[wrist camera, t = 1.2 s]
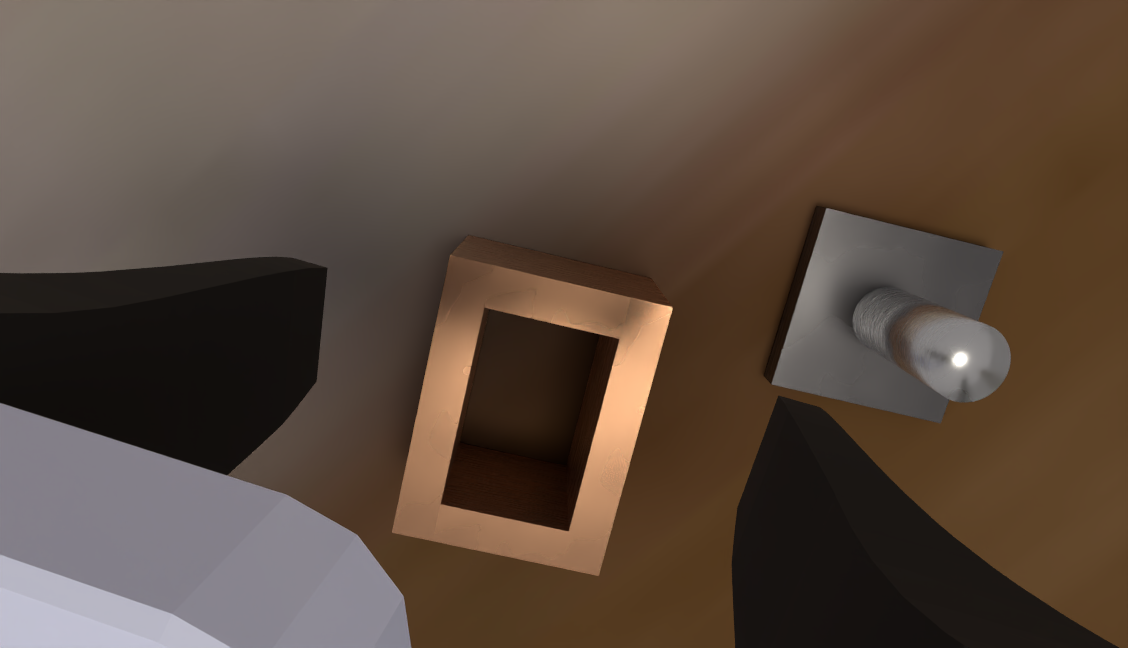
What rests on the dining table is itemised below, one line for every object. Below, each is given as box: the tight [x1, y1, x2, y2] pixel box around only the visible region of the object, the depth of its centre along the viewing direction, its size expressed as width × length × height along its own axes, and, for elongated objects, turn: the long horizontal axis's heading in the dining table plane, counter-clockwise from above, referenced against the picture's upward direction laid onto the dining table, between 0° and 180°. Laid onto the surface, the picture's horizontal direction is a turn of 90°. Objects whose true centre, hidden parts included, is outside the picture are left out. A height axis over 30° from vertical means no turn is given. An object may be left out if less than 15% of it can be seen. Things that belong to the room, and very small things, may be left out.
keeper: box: [764, 206, 1011, 423], centre depth 20 cm, size 5×5×5 cm
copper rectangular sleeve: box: [392, 235, 673, 576], centre depth 20 cm, size 7×5×4 cm
